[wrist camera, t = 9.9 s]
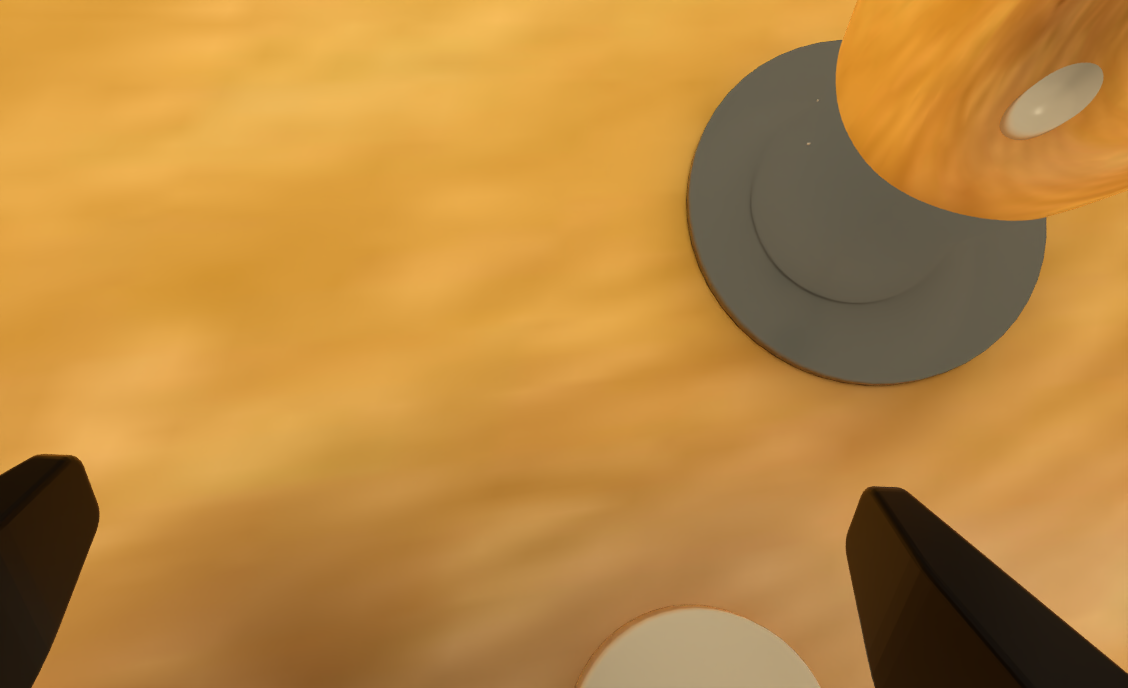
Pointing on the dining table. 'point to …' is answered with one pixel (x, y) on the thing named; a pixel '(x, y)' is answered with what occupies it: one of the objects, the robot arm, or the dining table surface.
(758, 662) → the dish
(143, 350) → the dining table surface
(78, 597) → the dining table surface
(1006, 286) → the coaster
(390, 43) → the dining table surface
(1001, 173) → the beer glass
